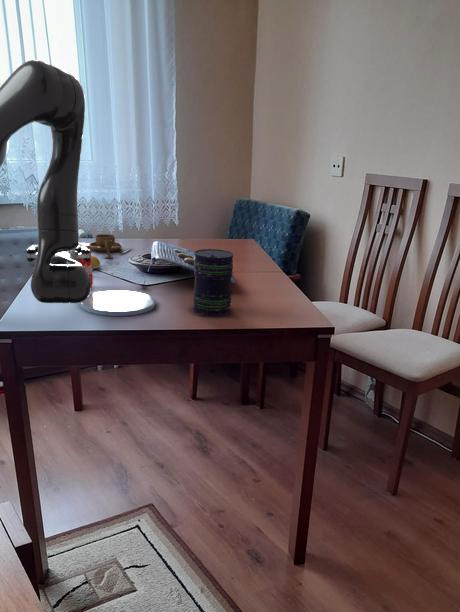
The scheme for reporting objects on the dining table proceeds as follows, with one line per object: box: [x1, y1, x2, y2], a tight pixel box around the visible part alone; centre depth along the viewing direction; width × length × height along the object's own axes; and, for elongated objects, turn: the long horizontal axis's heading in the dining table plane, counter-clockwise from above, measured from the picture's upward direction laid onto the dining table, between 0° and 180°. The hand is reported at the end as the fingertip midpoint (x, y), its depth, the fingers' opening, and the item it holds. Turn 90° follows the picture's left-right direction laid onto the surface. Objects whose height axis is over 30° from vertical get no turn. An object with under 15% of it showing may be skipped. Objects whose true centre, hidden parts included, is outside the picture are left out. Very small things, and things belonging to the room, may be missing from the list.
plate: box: [80, 290, 156, 317], centre depth 145 cm, size 19×19×1 cm
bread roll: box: [91, 254, 101, 270], centre depth 179 cm, size 8×9×4 cm
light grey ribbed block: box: [141, 240, 237, 288], centre depth 178 cm, size 45×27×12 cm, turn 9°
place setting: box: [88, 233, 132, 260], centre depth 201 cm, size 18×20×6 cm
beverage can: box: [78, 242, 94, 289], centre depth 156 cm, size 5×5×12 cm
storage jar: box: [192, 248, 234, 318], centre depth 141 cm, size 10×10×15 cm
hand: (58, 246), depth 131 cm, fingers closed on sponge, 5 cm apart
